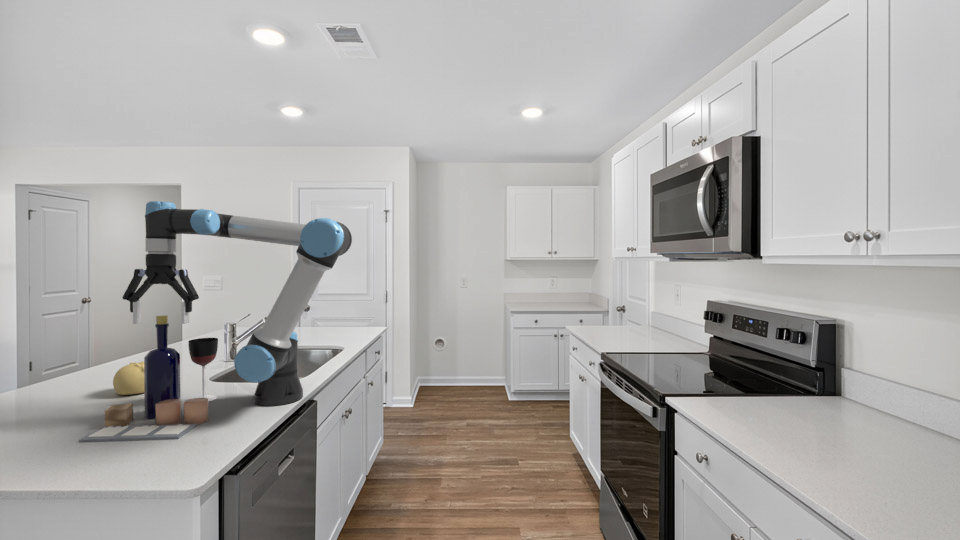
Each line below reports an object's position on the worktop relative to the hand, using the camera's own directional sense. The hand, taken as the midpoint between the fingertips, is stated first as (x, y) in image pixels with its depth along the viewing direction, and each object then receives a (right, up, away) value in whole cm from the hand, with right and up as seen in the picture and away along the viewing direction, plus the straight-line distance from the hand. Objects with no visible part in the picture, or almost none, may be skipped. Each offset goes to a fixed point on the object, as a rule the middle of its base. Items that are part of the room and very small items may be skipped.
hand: (161, 323), depth 134 cm
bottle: (0, -28, +1) cm, 28 cm away
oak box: (-7, -28, -7) cm, 30 cm away
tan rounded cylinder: (+14, -28, -5) cm, 32 cm away
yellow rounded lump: (-24, -27, +21) cm, 42 cm away
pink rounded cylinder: (+7, -28, -6) cm, 30 cm away
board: (+5, -28, -14) cm, 32 cm away
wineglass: (+3, -28, +15) cm, 32 cm away
